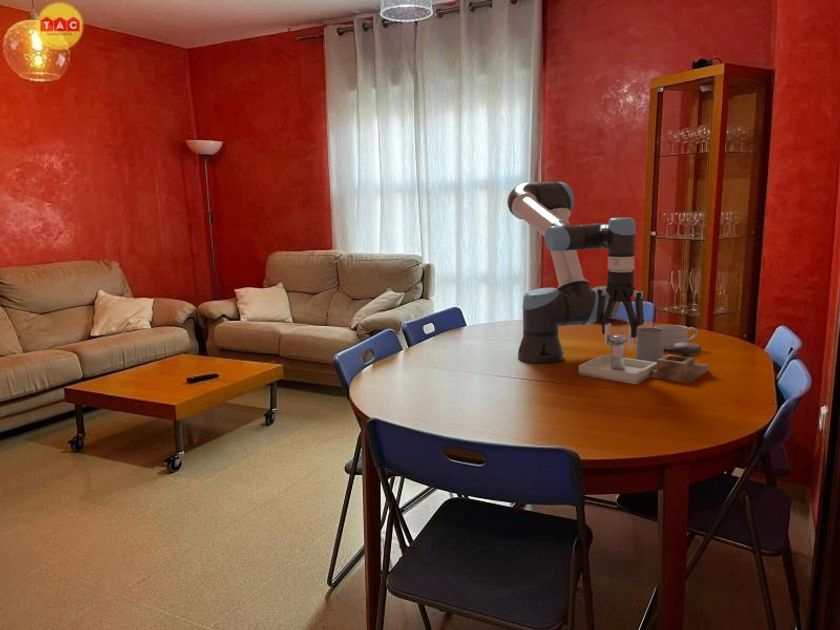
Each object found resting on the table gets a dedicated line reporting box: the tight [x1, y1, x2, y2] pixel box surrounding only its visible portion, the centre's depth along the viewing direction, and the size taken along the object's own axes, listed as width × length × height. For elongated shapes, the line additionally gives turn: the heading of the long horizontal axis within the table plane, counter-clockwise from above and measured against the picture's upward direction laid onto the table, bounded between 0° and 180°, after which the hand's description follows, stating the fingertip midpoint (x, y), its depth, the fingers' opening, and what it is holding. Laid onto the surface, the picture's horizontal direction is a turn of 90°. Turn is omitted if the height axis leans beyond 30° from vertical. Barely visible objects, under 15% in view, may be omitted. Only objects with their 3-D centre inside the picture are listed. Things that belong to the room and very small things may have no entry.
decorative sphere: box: [592, 285, 621, 319], centre depth 276 cm, size 15×15×15 cm
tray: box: [578, 354, 657, 385], centre depth 193 cm, size 18×16×3 cm
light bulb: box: [608, 334, 627, 371], centre depth 192 cm, size 5×5×10 cm
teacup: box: [654, 324, 698, 351], centre depth 221 cm, size 14×11×8 cm
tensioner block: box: [650, 342, 709, 384], centre depth 190 cm, size 11×17×8 cm, turn 138°
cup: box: [635, 327, 665, 362], centre depth 207 cm, size 8×8×10 cm
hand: (619, 346), depth 191 cm, fingers open, 7 cm apart
